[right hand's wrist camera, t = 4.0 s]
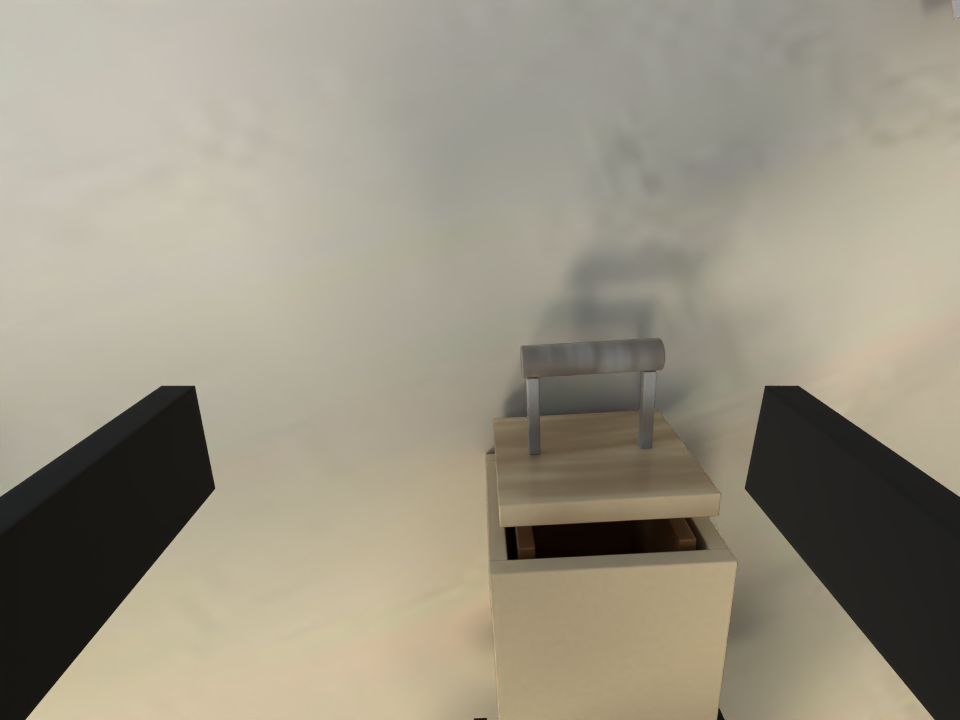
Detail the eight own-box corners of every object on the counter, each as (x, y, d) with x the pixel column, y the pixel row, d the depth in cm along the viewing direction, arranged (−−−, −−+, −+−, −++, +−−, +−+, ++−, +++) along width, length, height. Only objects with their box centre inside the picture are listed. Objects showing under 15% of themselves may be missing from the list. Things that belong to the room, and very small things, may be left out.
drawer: (487, 324, 30) (491, 383, 21) (663, 313, 29) (735, 370, 21) (506, 655, 38) (514, 789, 30) (643, 648, 38) (689, 781, 30)
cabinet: (485, 453, 33) (488, 574, 23) (660, 443, 33) (738, 561, 23) (499, 685, 40) (507, 855, 30) (645, 678, 40) (701, 847, 30)
